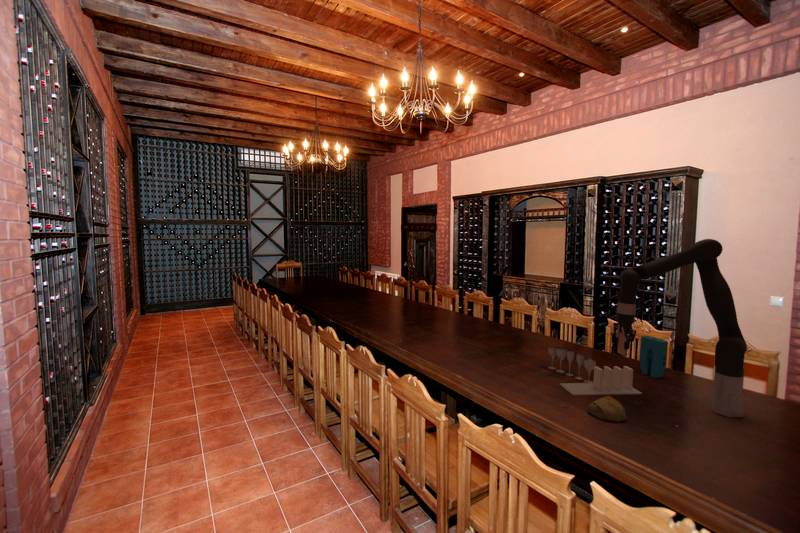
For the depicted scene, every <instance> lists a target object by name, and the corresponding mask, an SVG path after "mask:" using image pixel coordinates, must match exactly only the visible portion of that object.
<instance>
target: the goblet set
mask: <svg viewBox="0 0 800 533" xmlns="http://www.w3.org/2000/svg"><path fill="white" fill-rule="evenodd" d="M547 351H548V352H547V354H548V356H549V357H550V359H551V364H553V362H554V359H555V357H556V356H557V358H558V360H559V369H557V368H556V367H554V366H547V369H550V370H555V372H557V373H560V374H564V373H565V375H566V376H568V377H573V376H574V374H572V373H571V364H572V363H573V361H574V358H575V361H576V363H577V367H578V373H580V370H581V366H582V365H583V367H584V368H585V369H586V371H587V373H588V376H587V377H588V379H583V377H581V376H580V375H578V376H575V377H574V379H576V380H581V381H582V380H583V383H593V381H592V380H590V374H591V371H594V367H597V363H596V360H595V359H594V358H591V357H585V358H584V354H583V353H581V352H580V353H576V356H575V351H574V350H571V349H568V350H567V348H566V347H562V346H561V347H560V346H548V349H547ZM565 358H566V360H567V362H568V368H569V369H568V370H569V371H568V372H567V373H566V372H565V370H563V369H562V362H563V360H564V359H565Z"/></svg>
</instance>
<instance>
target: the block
mask: <svg viewBox="0 0 800 533" xmlns="http://www.w3.org/2000/svg"><path fill="white" fill-rule="evenodd" d="M640 337H641V338H640V349H639V350H640V352H639V364H640V370H641V373H642V374H644V375H646V376H647V375H650V377H652V378H654V379H661V378H663V376H664V373H665V370H666V368H667V361H668V360H667V359H668V348H669V347H668V344H669V341H668V340H666V339H662V338H658V337H653V336H649V335H641V336H640Z"/></svg>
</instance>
